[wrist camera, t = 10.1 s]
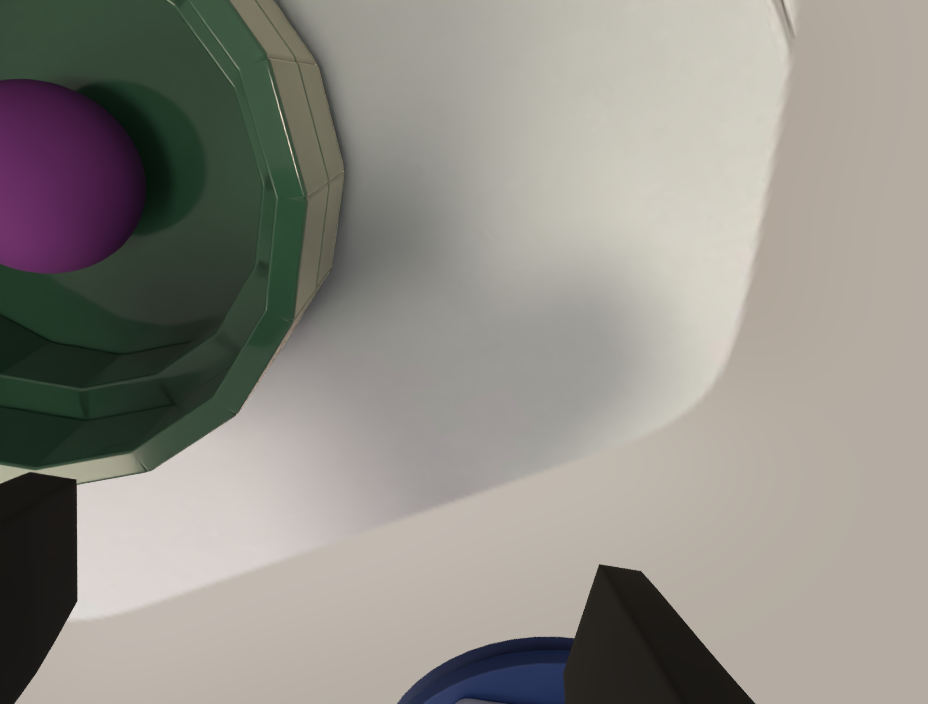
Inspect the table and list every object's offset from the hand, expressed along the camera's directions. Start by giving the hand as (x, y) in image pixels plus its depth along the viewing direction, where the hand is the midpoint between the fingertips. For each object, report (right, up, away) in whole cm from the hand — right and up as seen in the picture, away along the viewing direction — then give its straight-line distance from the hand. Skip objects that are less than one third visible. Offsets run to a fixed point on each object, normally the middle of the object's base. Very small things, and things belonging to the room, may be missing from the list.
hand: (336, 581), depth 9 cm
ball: (-7, +7, +5) cm, 11 cm away
